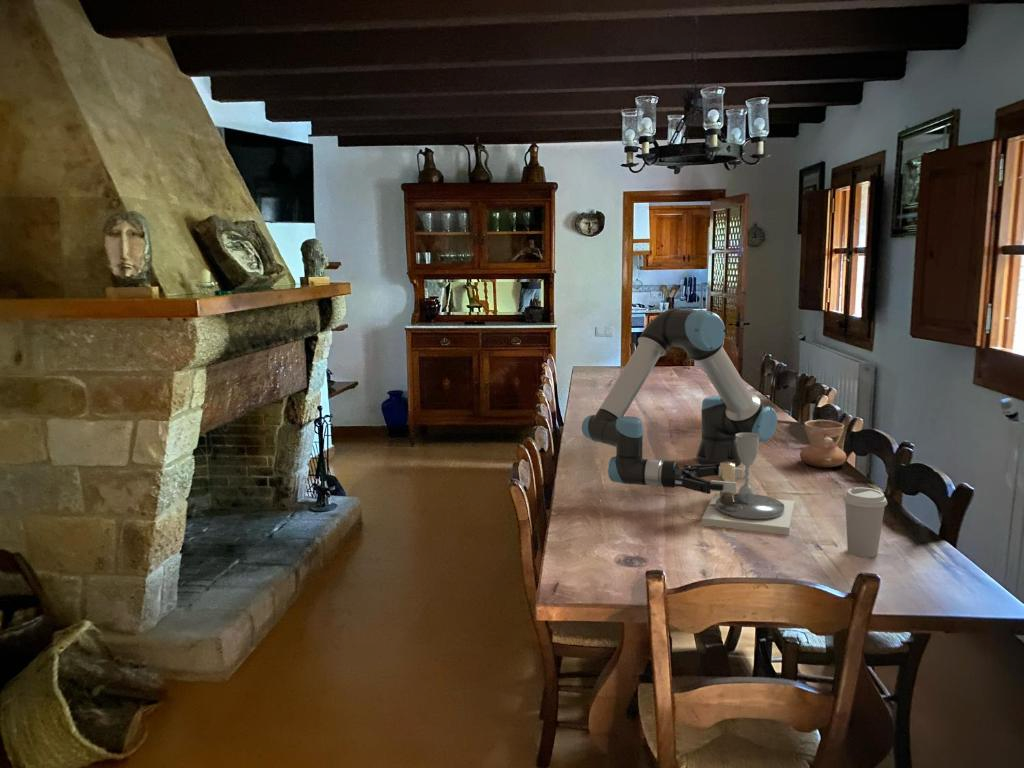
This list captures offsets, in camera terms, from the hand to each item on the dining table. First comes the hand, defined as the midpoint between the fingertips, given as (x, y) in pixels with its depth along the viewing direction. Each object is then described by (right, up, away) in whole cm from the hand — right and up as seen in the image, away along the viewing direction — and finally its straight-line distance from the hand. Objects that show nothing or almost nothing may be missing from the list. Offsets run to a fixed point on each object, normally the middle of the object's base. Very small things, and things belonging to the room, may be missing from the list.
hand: (739, 480), depth 206 cm
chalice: (+8, -7, +20) cm, 22 cm away
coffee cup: (+22, -14, -26) cm, 37 cm away
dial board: (+3, -10, +1) cm, 10 cm away
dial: (+3, -8, 0) cm, 8 cm away
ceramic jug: (+42, -1, +47) cm, 63 cm away
